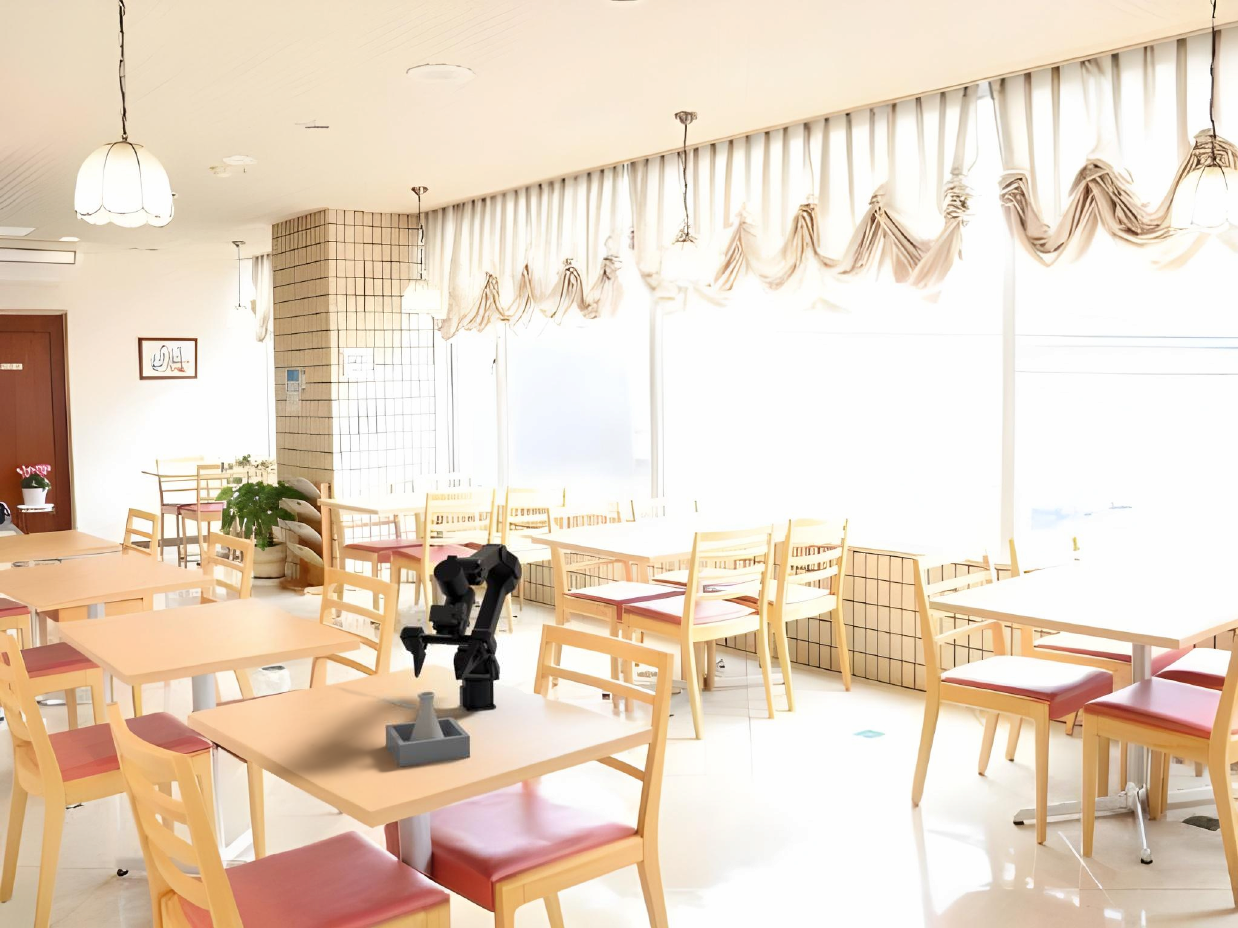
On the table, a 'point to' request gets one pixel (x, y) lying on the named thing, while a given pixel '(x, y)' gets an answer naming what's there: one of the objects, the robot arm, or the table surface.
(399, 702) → the butter knife
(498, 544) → the robot arm
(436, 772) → the table surface
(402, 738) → the tray
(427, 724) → the flask
